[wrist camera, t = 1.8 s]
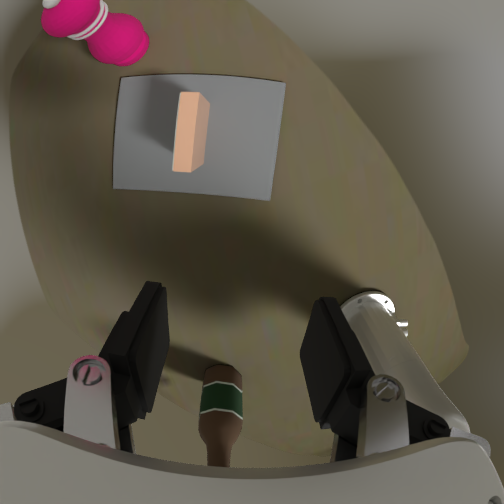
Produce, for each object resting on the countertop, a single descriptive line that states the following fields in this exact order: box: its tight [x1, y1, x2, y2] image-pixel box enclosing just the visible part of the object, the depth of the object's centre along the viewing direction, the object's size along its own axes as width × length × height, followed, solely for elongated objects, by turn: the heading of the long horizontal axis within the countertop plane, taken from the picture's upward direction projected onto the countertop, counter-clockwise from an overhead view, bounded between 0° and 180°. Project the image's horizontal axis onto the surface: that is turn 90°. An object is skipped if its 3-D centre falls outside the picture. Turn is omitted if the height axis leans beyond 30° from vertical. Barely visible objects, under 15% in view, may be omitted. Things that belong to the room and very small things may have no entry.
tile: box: [172, 92, 210, 172], centre depth 27 cm, size 2×8×9 cm, turn 173°
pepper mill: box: [41, 0, 149, 66], centre depth 17 cm, size 7×7×20 cm
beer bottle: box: [199, 364, 243, 467], centre depth 39 cm, size 8×8×24 cm
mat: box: [113, 74, 286, 201], centre depth 32 cm, size 22×16×1 cm
